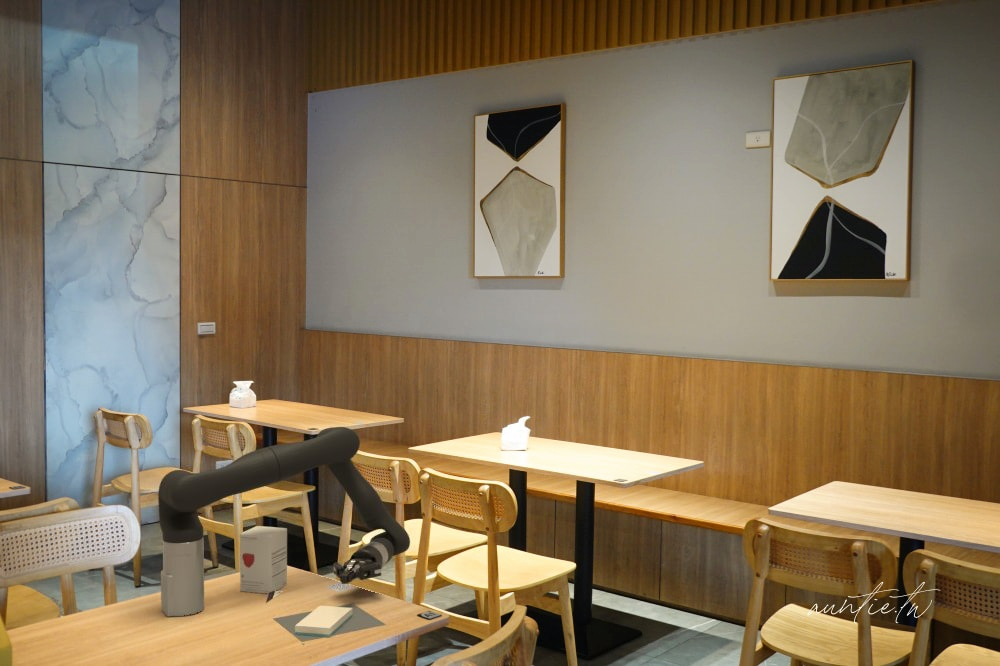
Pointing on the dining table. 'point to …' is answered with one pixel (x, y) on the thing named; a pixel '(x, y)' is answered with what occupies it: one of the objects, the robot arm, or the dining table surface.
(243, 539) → the supplement box
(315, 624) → the tile
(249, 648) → the dining table surface
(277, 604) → the dining table surface
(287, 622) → the mat
